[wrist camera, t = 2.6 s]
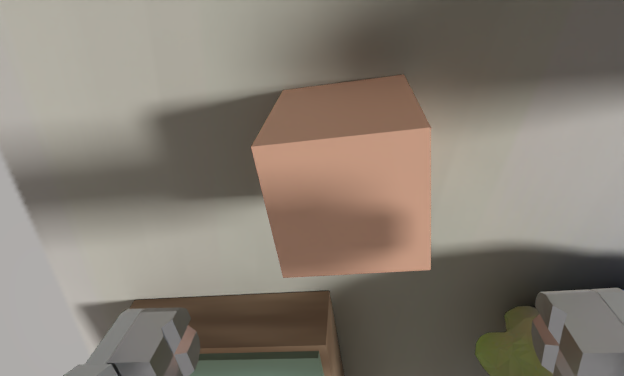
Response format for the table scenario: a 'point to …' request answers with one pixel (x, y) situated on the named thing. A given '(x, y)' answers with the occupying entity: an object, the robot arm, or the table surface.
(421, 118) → the terracotta block
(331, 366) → the green lidded wooden box
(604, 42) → the table surface
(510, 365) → the earth globe model
